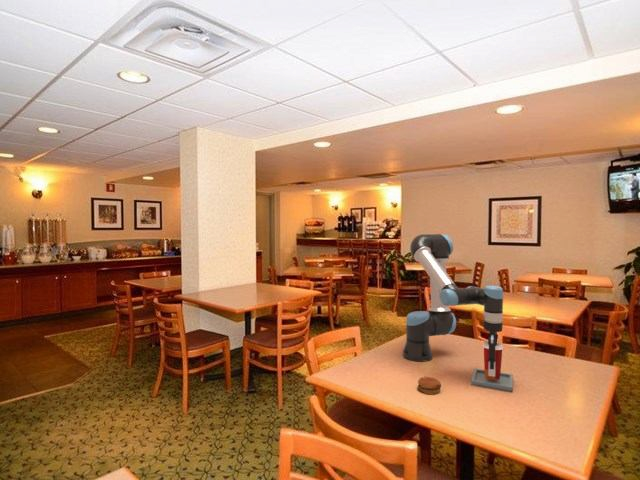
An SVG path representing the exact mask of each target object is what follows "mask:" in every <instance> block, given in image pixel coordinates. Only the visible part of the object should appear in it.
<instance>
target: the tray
mask: <svg viewBox="0 0 640 480" xmlns="http://www.w3.org/2000/svg"><path fill="white" fill-rule="evenodd" d="M513 376H514V375H513V373H506V372H500V379H499V380H491V379H488V378H486V377H485V369H480V368H474V370H473V372H472V376H471V380H470V385H471V386H475V387H479V388H480V387H481V388H486V389H492V390H497V391H503V392H508V393H513V384H514V383H513V382H514V381H513V379H514V377H513Z"/></svg>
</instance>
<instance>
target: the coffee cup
mask: <svg viewBox="0 0 640 480" xmlns="http://www.w3.org/2000/svg"><path fill="white" fill-rule="evenodd" d="M482 347H483V363H484V364H483V365H484V370H485V377H486V378H488V379H491V380H499V379H500V372H501V371H502V370H501V369H502V360H503V359H502V358H503V350H504V346H503V345H502V343H500V342H497V346H495V361H496V363H495V377H493V376H488V367H489V361H487V360H488V359H489V344H488V341H485V342H484V343H483V345H482ZM491 359H492V358H491ZM501 373H502V372H501Z"/></svg>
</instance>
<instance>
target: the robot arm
mask: <svg viewBox="0 0 640 480" xmlns="http://www.w3.org/2000/svg"><path fill="white" fill-rule="evenodd" d="M409 251H410V254H411V256H412V258H413V259H414V260H415V261H416V262H418V263H419V264H420V265H421V267H422V268H423V270H424V271H425V272H426V274H427V275H428V277H429V285H430V287H429V288H430V307H429V308H428V311H425V310H415V311H411V312H409V313H408V314H407V315H406V322H405V323H406V325H405V327H406V333H405V334H406V335H405V337H406V339H405V343H404V348H403V349H402V356H403V358H404V359H406V360H410V361H413V362H428V361H431V360H433V351H432V348H431V345H430V337H435V336H446V335H451V334H453V332H454V331H455V329H456V326H457V318H456V317H455V314H454V313H453V312H452V310H451V308H450V307H456V306H465V305H467V306H468V305H480V306H483V313H482V316H483V320H484V321H483V329H484V331H487V332H489V333H487V342H488V344H489V359H488V360H487V361H489V367H488V376H493V377H495V363H496V361H495V346H497V343H498V338H499V335H498V333H502V332H503V320H504V319H503V318H504V311H503V309H504V289H503V288H502V287H501V286H499V285H486V286H484V288H482V287H478V286H473V285H472V286H471V285H470V286H467V287H463V288H459V287H458V286H457V285H456V284H455V282H454V281H453V280H452V278H451V277H450V276H449V274H448V273H447V261H449V260H450V256H451V255H452V253H453V252H454V244H453V240H452V238H450V236H449V235H447V234H441V233H437V234H435V233H434V234H430V233H429V234H427V233H426V234H424V233H423V234H419V235H417V236H415V237H414V238H413V239H412V240H411V242H410V248H409ZM491 358H492V359H491Z"/></svg>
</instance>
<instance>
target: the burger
mask: <svg viewBox="0 0 640 480" xmlns="http://www.w3.org/2000/svg"><path fill="white" fill-rule="evenodd" d="M417 382H418V383H417V384H418V385H417V389H418V390H419V391H420V392H422V393H424V394H425V395H437V394H440V391H441V387H442V384H441V382H440V380H439V379H437V378H435V377H431V376H430V377H429V376H422V377H420V378H419V379H418V381H417Z"/></svg>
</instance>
